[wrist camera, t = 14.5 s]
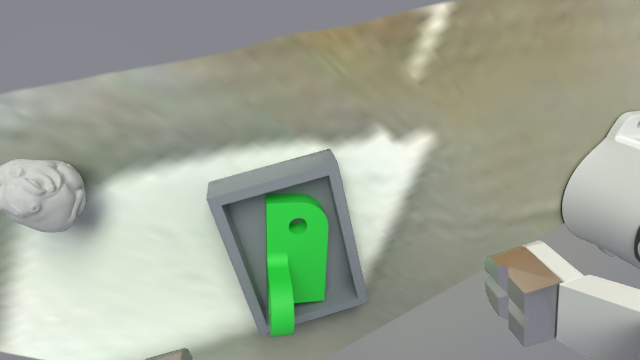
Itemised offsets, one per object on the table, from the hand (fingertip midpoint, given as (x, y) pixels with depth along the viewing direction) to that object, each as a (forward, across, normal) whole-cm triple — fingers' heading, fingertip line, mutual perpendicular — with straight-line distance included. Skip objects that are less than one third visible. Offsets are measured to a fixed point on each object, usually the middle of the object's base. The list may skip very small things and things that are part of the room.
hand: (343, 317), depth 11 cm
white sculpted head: (+29, +20, +3) cm, 36 cm away
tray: (+29, +2, +16) cm, 33 cm away
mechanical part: (+28, +2, +16) cm, 33 cm away
